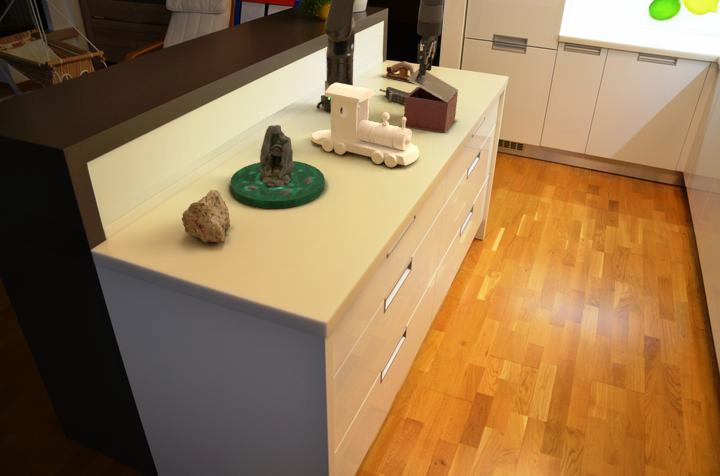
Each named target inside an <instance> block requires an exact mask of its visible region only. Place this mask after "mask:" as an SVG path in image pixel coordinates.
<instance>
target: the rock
mask: <svg viewBox="0 0 720 476" xmlns="http://www.w3.org/2000/svg"><path fill="white" fill-rule="evenodd" d="M229 211H230V210H229V207H228V206H227V204H226V200H224V198H223V197H222V195H221V194H220V191H218V190H216V189H211V190H210V191H208V192H207V193H206V195H205V196H202V197H201V199H199V200H198V201H196V202H192V203H191V204H189V206H188V208H187V209H186V210H184V211H183V213H182V215H181V216H182V217H181V222H182V225H183V228H184V232H185V233H187V234H189V235H192V236H193V237H195V238H197V239H200V240H201V241H202V242H203V243H209V242H211V243H219V242H220V243H224V241H225V240H226V235H225V233H226V230H227V229H229V228H230V226H231V225H230V223H231V221H230V219H231V218H230V213H229Z"/></svg>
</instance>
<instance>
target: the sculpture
mask: <svg viewBox="0 0 720 476" xmlns="http://www.w3.org/2000/svg"><path fill="white" fill-rule="evenodd" d="M415 71H416V68H415V66H414V65H413V64H411V63H409V62H408V61H400V62H398V63H394V64H392V65H390V66H386V74H385V75H383V76H382V77H384V78H389V79H392V80H399V81H403V82H408V83H412V82H411V81H409V80H407V78H408V77H409V76H410V75H412V74H413V73H414V72H415ZM409 73H410V74H409Z"/></svg>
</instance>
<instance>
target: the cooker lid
mask: <svg viewBox="0 0 720 476" xmlns="http://www.w3.org/2000/svg"><path fill="white" fill-rule="evenodd" d="M429 66H430V61H428V60H427V67H429ZM427 67H426V68H427ZM407 80H409V81H411V82H410V83H412V84H414V85H416V87H421V88H423V89H424V90H426V91H428V92H429V93H431V94H433V95H435V96H436V97H438V98H440V99H441V100H443V101H445V102H446V103H448V102H449V101H450V100H451V99H452V98H453V96H454V95H455V94H456V93H457V92H458V93H459V89H458V88H455V87H454V86H452V85H451V84H449V83H447V82H445V81H444V80H442V79H441V78H439V77H437V76H435V75H433V74H432V73H430V72H429V71H426V75H424V76H422V75H419V68H418V69H416V70H415V72H414V73H413V74H412V75H410V74H409V77H408V78H407Z"/></svg>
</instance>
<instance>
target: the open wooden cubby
mask: <svg viewBox="0 0 720 476" xmlns="http://www.w3.org/2000/svg"><path fill="white" fill-rule="evenodd" d="M409 93H410V94H408V95H407V96H406V97H405V104H404V111H403V113H404V114H403V117H406V119H407V120H406V123H405V127H406V128H407V127H408V128H413V129H420V130H425V131H431V132H437V133H443V134H445V133H446V132H447V131H448V130H449V128H450V127H451V126H452V125H453V124H454V122H455V121H456V113H457V105H458V95H459V91H458V92H457V93H456V94H455V95H454V96H453V98H452V99H451V100H450V101H449V102H448V103H446V102H445V101H443V100H441V99H440V98H438V97H436V96H435V95H433V94H431V93H429V92H428V91H426V90H424V89H423V88H421V87H419V86H416V87H415V88H414V89H412V91H410V92H409Z"/></svg>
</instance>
